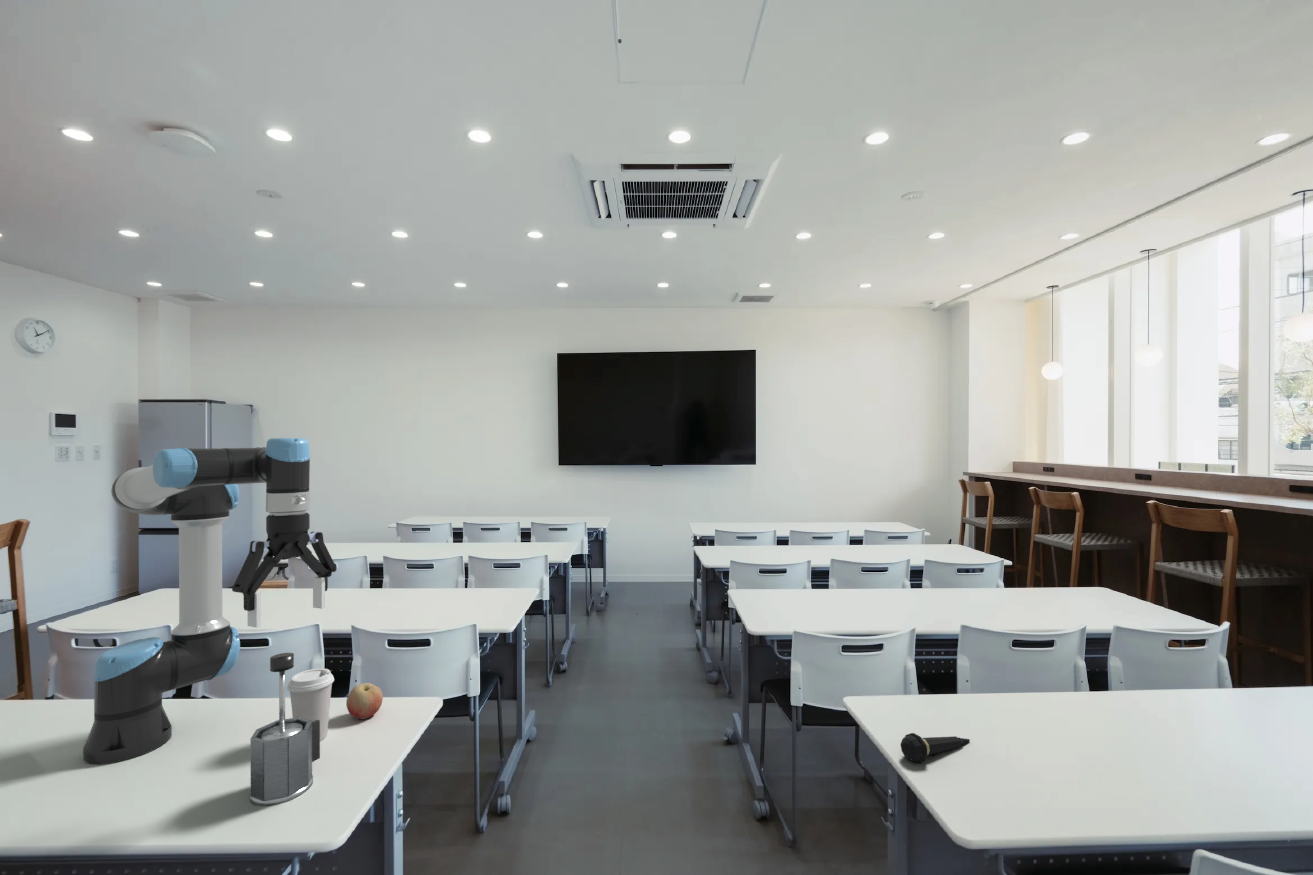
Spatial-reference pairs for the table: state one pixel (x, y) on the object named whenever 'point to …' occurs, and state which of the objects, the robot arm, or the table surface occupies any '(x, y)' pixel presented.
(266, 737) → the plunger
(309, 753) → the press carafe
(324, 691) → the coffee cup
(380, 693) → the fruit
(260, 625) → the robot arm
